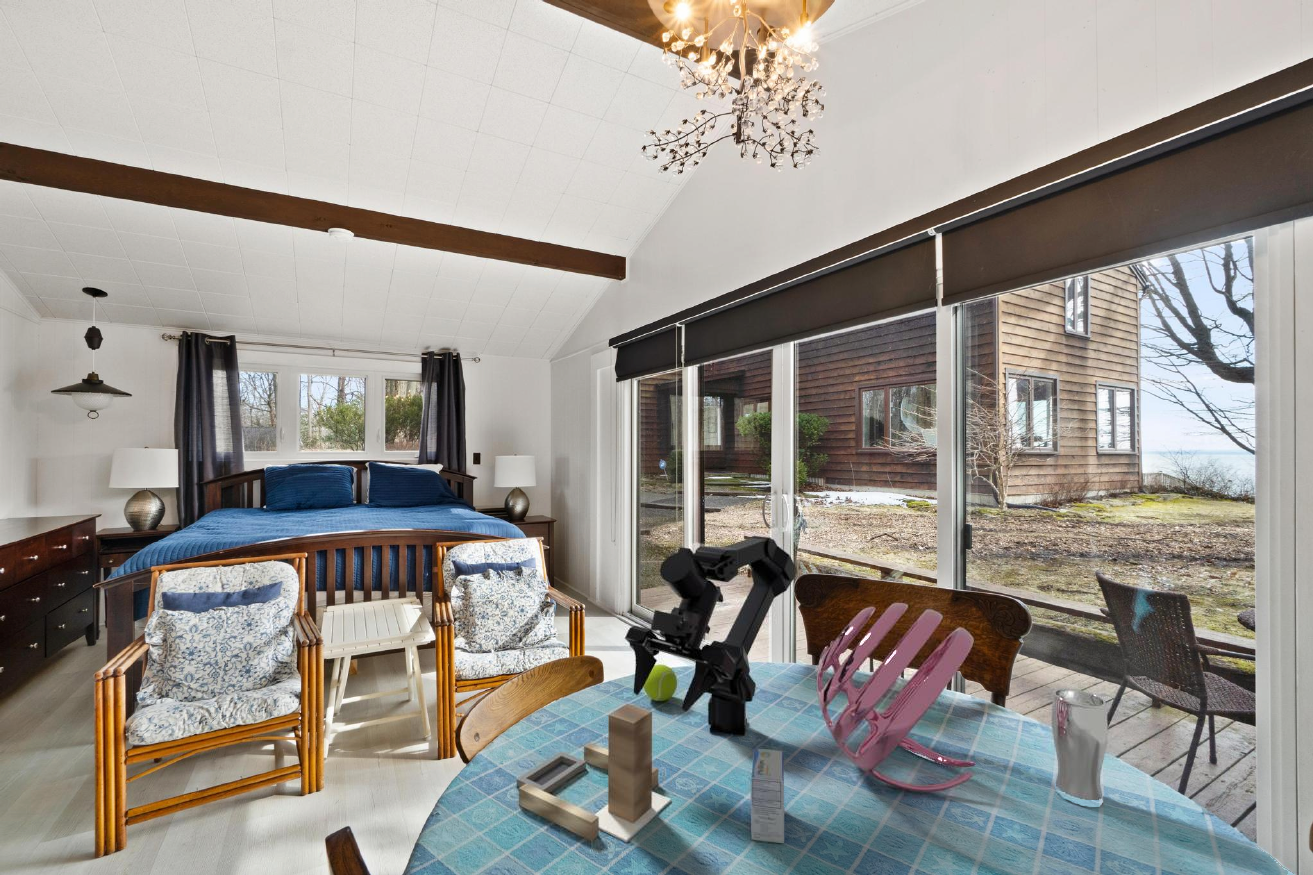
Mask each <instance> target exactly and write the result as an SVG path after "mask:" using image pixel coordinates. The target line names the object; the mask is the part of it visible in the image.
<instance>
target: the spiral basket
mask: <svg viewBox="0 0 1313 875" xmlns="http://www.w3.org/2000/svg"><path fill="white" fill-rule="evenodd" d="M908 607H909V606H908V604H907V603H904V602H903V603H902V602H894V603H892V604H891V605H890V606H889V607H888V608H886V610H885V612H884V613H883V614H882V615H881V616H880V617H879V618H878V619H877V621H876V622H875V623H874V624H873V625H872V626H871V628H870V629H869V630H868V631H867V632H866V634H865V635H864V636H863V637H862V639H861V640H859V642H858V643H857V644H856V646H855V647H854V648H853V650H851V652H850V654H849V655H848V656H847V657H846V658H845V659H844V661H842V663H840V657H841V654H842V653H843V652H844V651H845V650H846V648H848V646H849V645H850V643H851V642H852V641H853V640H854V639H855V638H856V637H857V635H858V634H859V632H860V631H861V630H862V628H863V627H864V626H865V624H866V623H867V622H868V621H869V619H870V618H871V617H872V615H873V614H874V612H875V610H876V608H875V606H869V607H866V608H864V609H862V610H860V612H858V613H857V615H856V616H855V617H853V618H852V620H851V621H850V622H849V624H847V625H846V626H845V627H844V629H843V630H842V631H841V633H839V635H838V637H837V638H836V639H835V640H832V641H830V646H828V645H826V646H825V647H824V648H823V649H822V650H823V651H822V653H821V654H820V658H819V661H818V667H817V673H816V690H817V699H818V704H819V707H820V711H821V714H822V718H823V720H824V722H825V725H826V727H827V729H828V731H829V733H830V735H831V736H832V738H833V739H834V741H835V743H836V744H837V746H838V747H839V748H840V749H841V750H842V751H843V753H844V754H845V755H846V756H847V758H849V759H850V760H851V761H852V762H853V764H855V766H857V767H858V768H860V769H861V770H862V771H864V772H865V773H866V774H868V775H870V776H871V777H873V778H874V779H876V780H878V781H880V782H882V783H884V784H886V785H888V786H891V787H894V788H897V789H900V790H904V791H910V792H915V793H916V792H917V793H933V792H934V793H935V792H941V791H946V790H949V789H952V788H955V787H958V786H960V785H963V784H964V783H966V782H967V781H969V780H970V779H971V778H972V777H973V775H974V774H973V772H972V771H967V772H966V773H964V774H962V775H960V776H958V777H956V778H953V779H951V780H948V781H946V782H945V781H944V782H941V783H936V784H926V785H925V784H912V783H908V782H907V783H906V782H903V781H902V782H901V781H900V780H899V781H898V780H896V779H894V778H893V779H892V778H889V777H888V776H885V775H883V774H881V773H879V772H878V771H876V770H875V768H877V767H878V766H879V765H880V764H881V763H882V762H883V761H884V760H885V759H887V757H888V756H889V755H890V754H891V753H892V752H893V751H894V750H895V749H896V748H897V747H900V748H902V749H903V748H904V749H903V750H905V749H907V750H910V751H912V752H914V753H917V754H921V755H923V756H926V757H928V758H930V759H932V760H934V761H935V762H938V763H941V764H943V765H942V766H945V765H946V767H950V768H951V767H953V768H972V767H975V766H976V764H975V762H974V761H970V760H960V759H955V758H951V757H948V756H945V755H942V754H939V753H937V752H936V751H933V750H931V749H929V748H928V747H925V746H923V745H921V744H920V743H918V742H916V741H915V740H913V739H911V738H910V737H909V736H908V735H909V733H910V732H911V731H912V730H913V729H914V727H915V726H916V725H917V724H918V723H919V721H920V720H922V718H923V716H925V714H926V713H927V712H928V710H929V709H930V708H931V707H932V705H933V704H934V702H936V700H937V699H938V698H939V696H940V695H941V694H942V692H943V691H944V690H945V688H946V687H947V686H948V684H949V683H950V681H952V678H953V677H954V676H955V675H956V674H957V672H958V670H959V669H960V667H961V666H962V664H963V663H964V661H965V660H966V658H967V656H968V654H969V653H970V651H971V649H972V647H973V644H974V641H975V639H974V637H973V636H972V634H971V633H970V632H969V631H968V630H966V629H965V628H964V627H960V626H959V627H957V628H955V630H953V631H952V632H951V633H950V634H949V635H948V636H947V637H946V638H945V639H944V640H943V641H942V642H941V643H940V644H939V645H938V646H937V648H936V649H935V650H934V651H932V653H931V654H930V656H929V657H928V658H927V659H926V660H925V661H924V662H923V663H922V665H921V666H920V667H919V668H918V670H916V672H915V673H914V674H913V675H912V677H911V678H910V679H909V681H907V682H906V684H905V685H904V687H903V688H902V689H901V690H900V691H899V693H898V694H897V695H896V696H895V697H894V698H893V700H892V701H891V703H890V704H889V706H888V707H887V708H886V709H885V710H884V711H882V712H878V711H877V710H876V709H874V708H875V707H876V706H877V704H878V703H879V702H880V701H881V699H882V698H883V697H884V696H885V694H886V693H887V692H888V691H889V690H890V688H891V687H892V686H893V684H894V683H895V682H896V681H897V680H898V678H899V677H900V676H901V675H902V673H903V672H904V671H905V669H907V667H908V665H910V663H911V662H912V661H913V660H914V659H915V657H916V655H917V654H918V653H919V652H920V650H921V649H922V647H924V645H925V643H926V642H927V641H928V640H929V638H930V637H931V636H932V634H933V633H934V631H935V630H936V629H937V628H938V626H939V624H940V623H941V621H942V619H943V618H944V617H943V614H941V613H940V612H938V611H936V610H935V609H934V610H933V609H926V610H924V612H923V613H922V614H921V615H920V616H919V618H917V620H916V621H915V622H914V623H913V625H912V626H911V627H910V628H909V629H908V631H906V633H905V634H903V637H902V638H901V639H900V640H899V641H898V642H897V644H896V645H895V646H894V647H893V649H892V650H891V651H890V652H889V653H888V655H887V656H886V657H885V659H884V660H883V661H882V662H881V663H880V665H878V666H877V668H876V669H875V671H874V672H873V674H872V675H870V677H869V678H868V679H867V680H866V682H865V683H864V685H863V686H862V687H861V688H856V687H855V686H854V684H853V680H852V679H853V676H854V675H855V673H856V672H857V671H858V670H859V669H860V667H861V666H862V665H863V664H864V663H865V661H866V660H867V659H868V658H869V656H870V655H871V654H872V653H873V651H874V650H875V649H876V647H877V646H878V645H879V644H880V643H881V641H883V639H884V638H885V636H886V635H887V634H888V633H889V631H890V630H891V629H892V628H893V626H894V625H895V624H896V622H898V620H899V619H900V618H901V616H902V615H903V614H904V613H905V611H907V609H908ZM831 666H832V669H833V675H832V676H831V677H830V679H829V680H828V681H827V682H826V684H825V685H824V684H823V683H824V682H823V680H824V679H823V678H824V674H825V673H826V672H827V671H828V670H829V668H830V667H831ZM823 685H824V686H823ZM840 692H842V693H844V694H845V696H846V698H847V705H846V707H845V709H844V710H843V711H842V712H841V714H840V715H839V717H838V718H837V719H836V720H835V721H834V723H833V722H832V720H831V718H830V715H829V712H828V706H829V705H830V704H831V703H832V702H833V700H834V699H835V698H836V697H837V695H838V694H839V693H840ZM864 720H865V721H866V722H867V723H868V724H869V727H870V730H869V732H868V733H867V735H866V736H865V737H864V740H863V741H862V742H861V744H860V745H859V747H858V749H857V750H856V752H855V753H854V752H852V750H850V748H849V747H848V746H847V745H846V743H845V741H846V740H847V739H848V737H849V736H850V735H851V734H852V733H853V732H854V731H855V730H856V729H857V728H858V726H860V724H861V723H862V722H863V721H864ZM907 750H906V751H907ZM941 764H940V765H941Z"/></svg>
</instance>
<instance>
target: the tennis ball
mask: <svg viewBox="0 0 1313 875" xmlns="http://www.w3.org/2000/svg"><path fill="white" fill-rule="evenodd" d="M677 678H678V677H677V675H676V673H675V672H674V670H673V669H672V668H671V667H669V666H667V665H666V664H655V665H654V667H653V669H652V671H651V673H650V675H649V677H648V679H647V681H646V683H645V685H644V687H643V689H644V692H645V693H646V695H647V696H648V697H649V698H650V699H652V700H653V701H658V702H662V701H667V700H669V699H670V698H671V697H672V696H674V694H675V692H676V690H677V687H678V679H677Z"/></svg>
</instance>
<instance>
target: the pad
mask: <svg viewBox="0 0 1313 875" xmlns="http://www.w3.org/2000/svg"><path fill="white" fill-rule="evenodd" d="M671 802H672V799H671V798H670V797H666V796H665V795H662V794H660V793H657V792H654V791H652V807H651V808H650V809H649V810H648V811H647V812H646V813H645V814H644V815H642V816H641V817H640V818H639V819H638V820H637V821H636V822H635V823H634V824H633V823H631V822H629V821H627V820H624V819H622V818H620V817H618V816H616V815H613V814H611V813H609V812H608V803H607V804H606V805H605V806H603V807H602V808H601V809H599V810H598V811H597V813H595V814H594V815H596V816H598V817H599V831H602V832H604V833H605V834H608V835H611V836H612V837H614V838H616V839H618V840H620V841H623V842H625V843H628V842H629V841H630V840H631V839H632V838H633V837H634V836H635V835H636V834H637V833H638V832H639V831H640V830H642V828H643V827H645V826H646V825H647V824H648V823H649V822H650V821H652V819H653V818H655V817H656V816H657V815H658V814H659V813H660V812H661V811H662V810H664V808H665V807H666V806H668V805H669V804H670V803H671Z"/></svg>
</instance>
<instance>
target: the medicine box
mask: <svg viewBox="0 0 1313 875" xmlns="http://www.w3.org/2000/svg"><path fill="white" fill-rule="evenodd" d="M752 757H753V758H752V768H751V778H750V825H751V826H750V828H751V830H750V835H751V839H752V841H753V840H754V841H758V842H765V843H766V842H767V843H774V844H775V843H777V844H782V845H783V844H784V843H785V772H784V771H785V768H784V767H785V765H784V752H783V751H782V750H776V749H775V750H773V749H768V748H767V749H765V748H754V749H753V754H752Z"/></svg>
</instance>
